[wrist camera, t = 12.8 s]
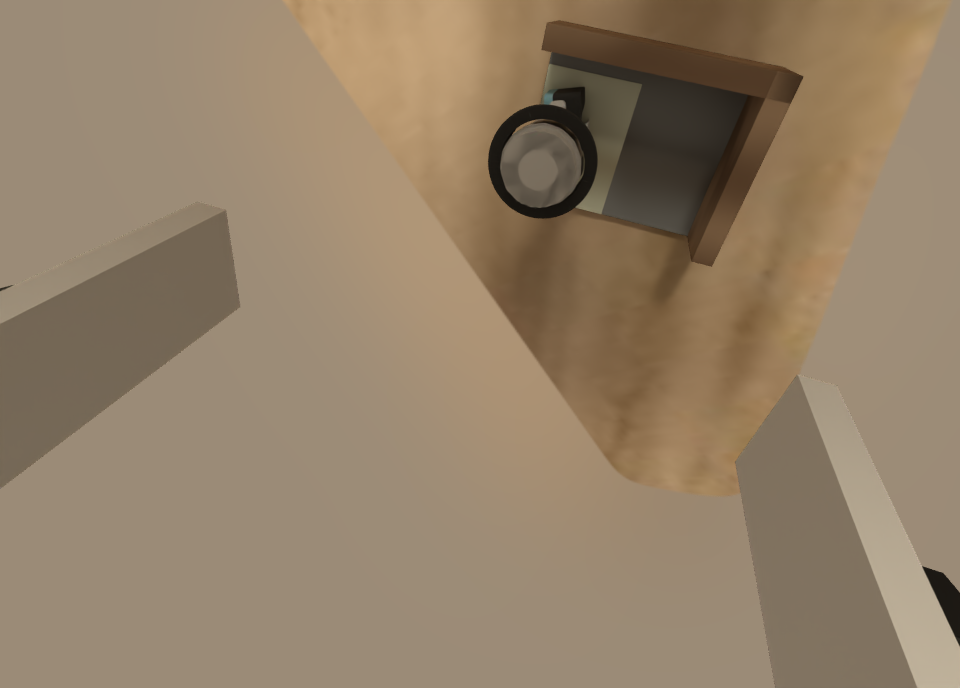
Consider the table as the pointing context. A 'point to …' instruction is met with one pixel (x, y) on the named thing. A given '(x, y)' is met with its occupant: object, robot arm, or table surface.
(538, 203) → the push button
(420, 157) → the table surface
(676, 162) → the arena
